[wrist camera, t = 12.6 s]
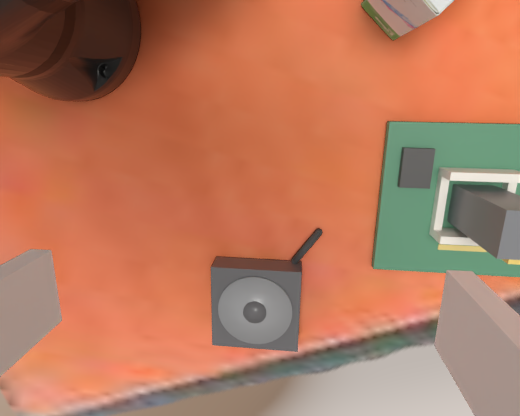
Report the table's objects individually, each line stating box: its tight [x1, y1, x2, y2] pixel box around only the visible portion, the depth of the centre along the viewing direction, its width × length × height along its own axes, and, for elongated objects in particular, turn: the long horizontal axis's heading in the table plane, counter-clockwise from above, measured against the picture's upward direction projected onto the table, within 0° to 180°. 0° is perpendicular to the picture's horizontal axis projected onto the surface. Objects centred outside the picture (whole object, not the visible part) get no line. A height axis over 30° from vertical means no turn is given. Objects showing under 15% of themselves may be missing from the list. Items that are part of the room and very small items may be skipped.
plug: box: [447, 184, 520, 265], centre depth 33 cm, size 5×4×10 cm
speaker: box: [211, 257, 302, 352], centre depth 42 cm, size 10×10×4 cm
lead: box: [291, 229, 322, 264], centre depth 41 cm, size 5×1×1 cm, turn 144°
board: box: [372, 121, 520, 277], centre depth 37 cm, size 16×18×4 cm
